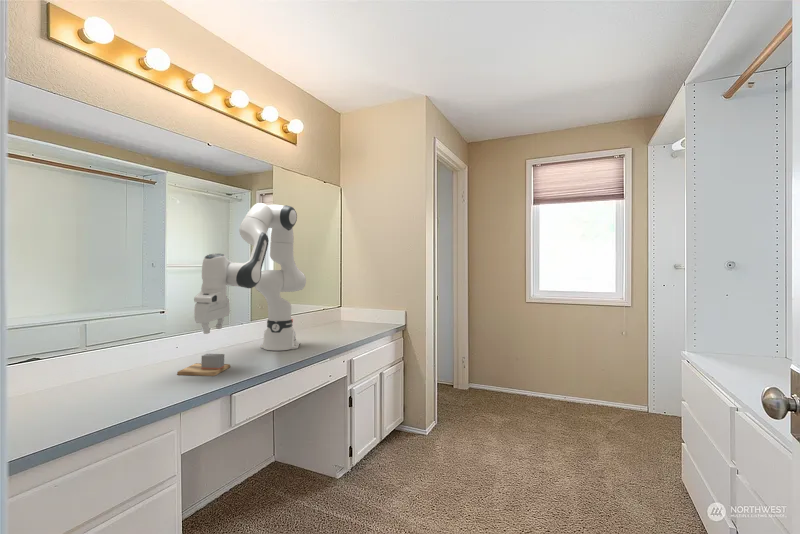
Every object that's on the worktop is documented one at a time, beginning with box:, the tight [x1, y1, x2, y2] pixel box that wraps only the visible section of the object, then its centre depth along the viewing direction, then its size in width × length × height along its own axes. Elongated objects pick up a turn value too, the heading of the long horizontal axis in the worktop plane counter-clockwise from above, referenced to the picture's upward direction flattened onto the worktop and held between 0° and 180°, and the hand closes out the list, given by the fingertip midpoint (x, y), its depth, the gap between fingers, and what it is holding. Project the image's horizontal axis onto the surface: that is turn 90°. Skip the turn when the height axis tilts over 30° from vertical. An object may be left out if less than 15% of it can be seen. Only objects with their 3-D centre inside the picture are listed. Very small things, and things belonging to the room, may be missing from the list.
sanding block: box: [200, 353, 225, 369], centre depth 157 cm, size 4×7×5 cm, turn 89°
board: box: [176, 362, 231, 377], centre depth 157 cm, size 13×14×1 cm
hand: (213, 331), depth 158 cm, fingers open, 8 cm apart
